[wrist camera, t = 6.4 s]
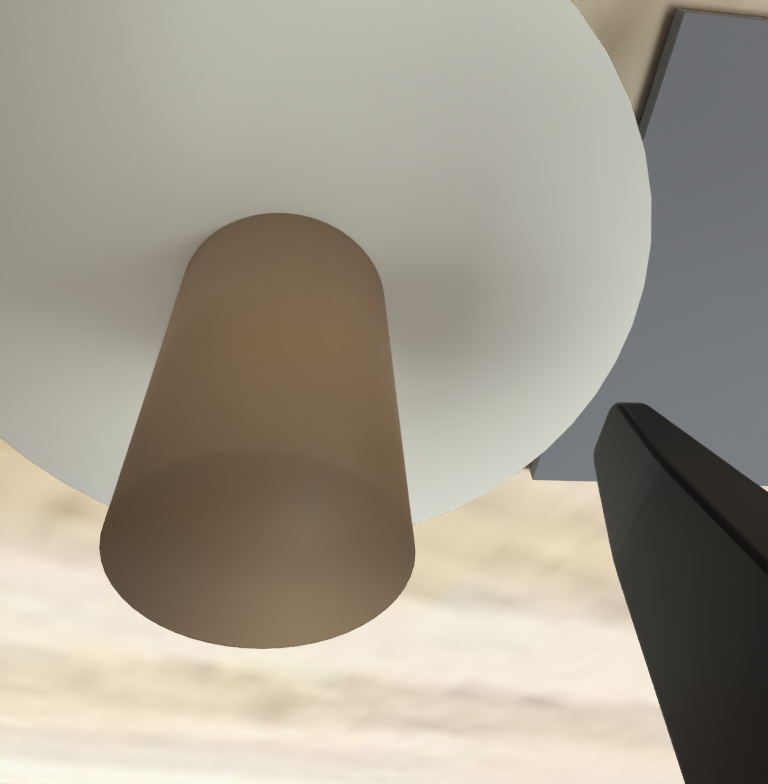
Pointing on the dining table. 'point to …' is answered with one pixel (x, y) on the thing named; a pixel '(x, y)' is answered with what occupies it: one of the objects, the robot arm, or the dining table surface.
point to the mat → (698, 254)
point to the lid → (303, 280)
